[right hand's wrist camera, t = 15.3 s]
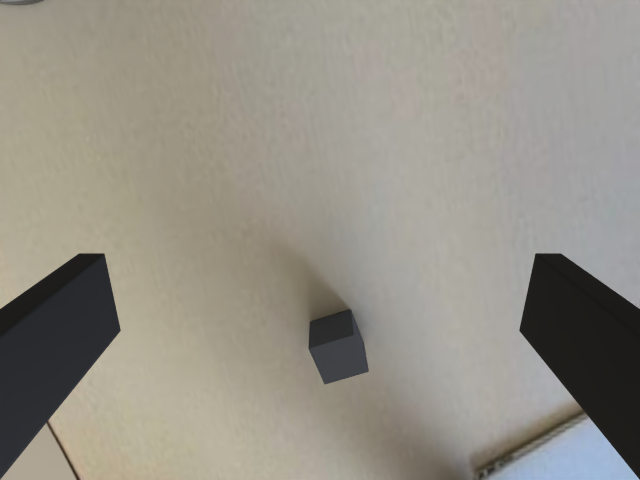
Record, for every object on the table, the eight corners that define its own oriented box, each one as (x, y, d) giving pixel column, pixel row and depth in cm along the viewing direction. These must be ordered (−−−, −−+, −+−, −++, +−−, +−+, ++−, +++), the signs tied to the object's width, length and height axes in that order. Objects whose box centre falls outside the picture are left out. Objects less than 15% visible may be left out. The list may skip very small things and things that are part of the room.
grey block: (309, 321, 46) (308, 348, 42) (350, 309, 46) (354, 334, 41) (324, 355, 48) (324, 384, 43) (364, 343, 47) (368, 371, 43)
